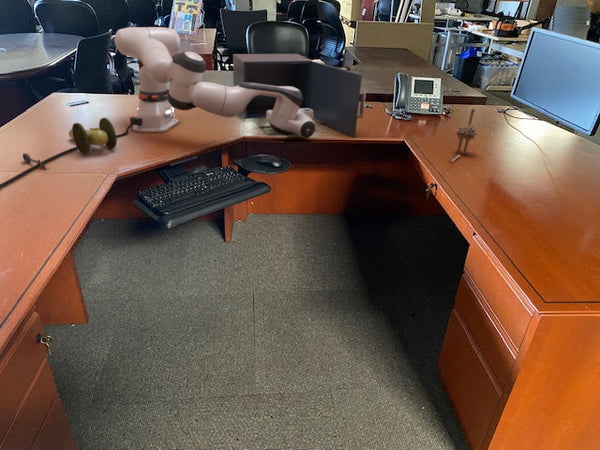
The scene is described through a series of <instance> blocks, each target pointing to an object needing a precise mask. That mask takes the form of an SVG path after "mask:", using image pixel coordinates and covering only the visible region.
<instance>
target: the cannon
mask: <svg viewBox="0 0 600 450" xmlns="http://www.w3.org/2000/svg"><path fill="white" fill-rule="evenodd" d="M116 135H117V133H116V130H115V127H114V125H113V123H112V121H111V120H109V118H107V117H102V118H100V120H99V122H98V127H89V129H85V128H84V126H83V125H82V124H81V123H79V122H74V123H73V124H72V126H71V129H70V130H69V131H68V136H69V138H70V139H72V140H73V141H74V144H75V147H77V148H78V149H77V150H78V151H79V152H80V154H81V155H84V156H86V155H89V154H90V152H91V145H93V146H98V147H103V146H106V147H107V148H108V149H110V150H111V149H115V148H116V147H117V144H118V137H116ZM90 144H91V145H90Z"/></svg>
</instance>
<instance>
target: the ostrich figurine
mask: <svg viewBox="0 0 600 450" xmlns="http://www.w3.org/2000/svg"><path fill="white" fill-rule="evenodd" d="M470 111H471V112H470V115H469V120H468V124H465V125H464V126H460V127H459V128H458V130H457V132H456V136H457V138H458V139H459V142H458V146H457V151H456V154H458V155H457V156H455V157H454V158H453V159H452V160H451V163H453V162H454V161H456V160H457V159H458V158H459V157H460V153H461V149H462V144H463V140H465V144H464V147H463V152H462V155H463V156H466V155H467V150H468V145H469V142H470V141H471V140H472V139H473V140H474V139H475V137H476V136H477V135H478V132H477V130H476V129H475V127H474V125H472V121H473V117H474V114H475V111H476V108H474V107H473V108H471V110H470Z"/></svg>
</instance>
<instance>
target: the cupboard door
mask: <svg viewBox="0 0 600 450" xmlns="http://www.w3.org/2000/svg"><path fill="white" fill-rule="evenodd" d="M336 67H337V66H332V65H328V64H325V63H321V62H319V61H318V62H317V61H313V60H312V72H311V89H310V106H309V108H310V109H311V110H313V119H315V120H317V121H319V122H321V124H322V125H325V126H327V127H329V128H332V129H334V130H336V131H338V132H341V133H343V134H345V135H347V136H350V137H352V138H355V137H356V132H357V123H358V119H363V117H364V108H365V101H366V93H367V90H366V89H365V88H363V89H361V87H362V79H363V74H361V73H357V72H353V71H347V70H343V69H340V68H336ZM359 105H360V106H359Z"/></svg>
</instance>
